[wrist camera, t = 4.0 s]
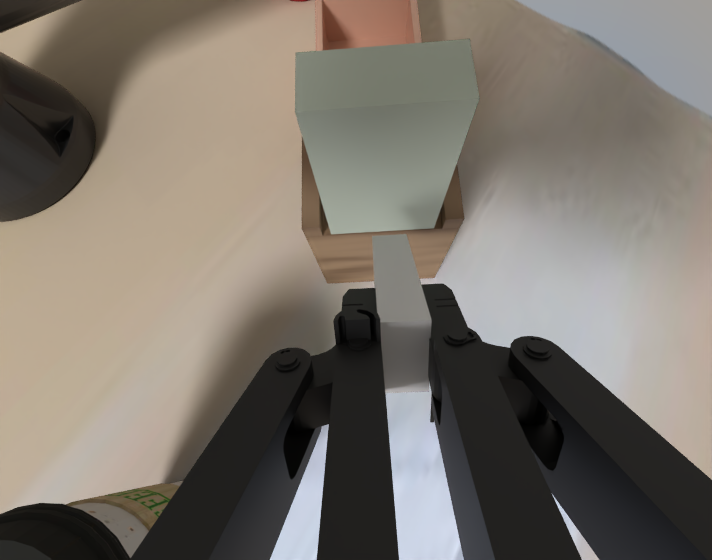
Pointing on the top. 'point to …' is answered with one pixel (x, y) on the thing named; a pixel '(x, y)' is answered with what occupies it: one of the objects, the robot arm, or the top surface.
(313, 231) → the launcher
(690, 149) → the top surface
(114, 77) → the top surface
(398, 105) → the pale green block
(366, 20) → the pink open box
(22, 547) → the coffee cup
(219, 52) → the top surface
